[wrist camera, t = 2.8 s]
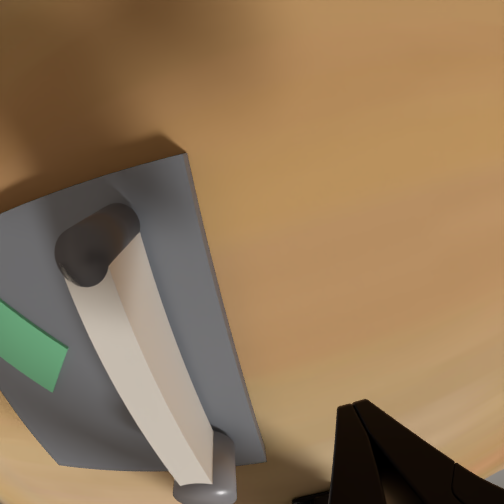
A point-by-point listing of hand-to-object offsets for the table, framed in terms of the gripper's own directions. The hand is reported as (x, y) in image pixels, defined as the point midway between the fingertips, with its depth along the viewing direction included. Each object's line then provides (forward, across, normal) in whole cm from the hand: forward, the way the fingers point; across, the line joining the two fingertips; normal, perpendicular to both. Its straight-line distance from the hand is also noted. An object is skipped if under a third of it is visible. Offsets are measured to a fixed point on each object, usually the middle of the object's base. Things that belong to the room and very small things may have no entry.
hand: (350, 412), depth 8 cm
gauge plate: (+7, +12, +2) cm, 14 cm away
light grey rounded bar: (+6, +6, +2) cm, 9 cm away
